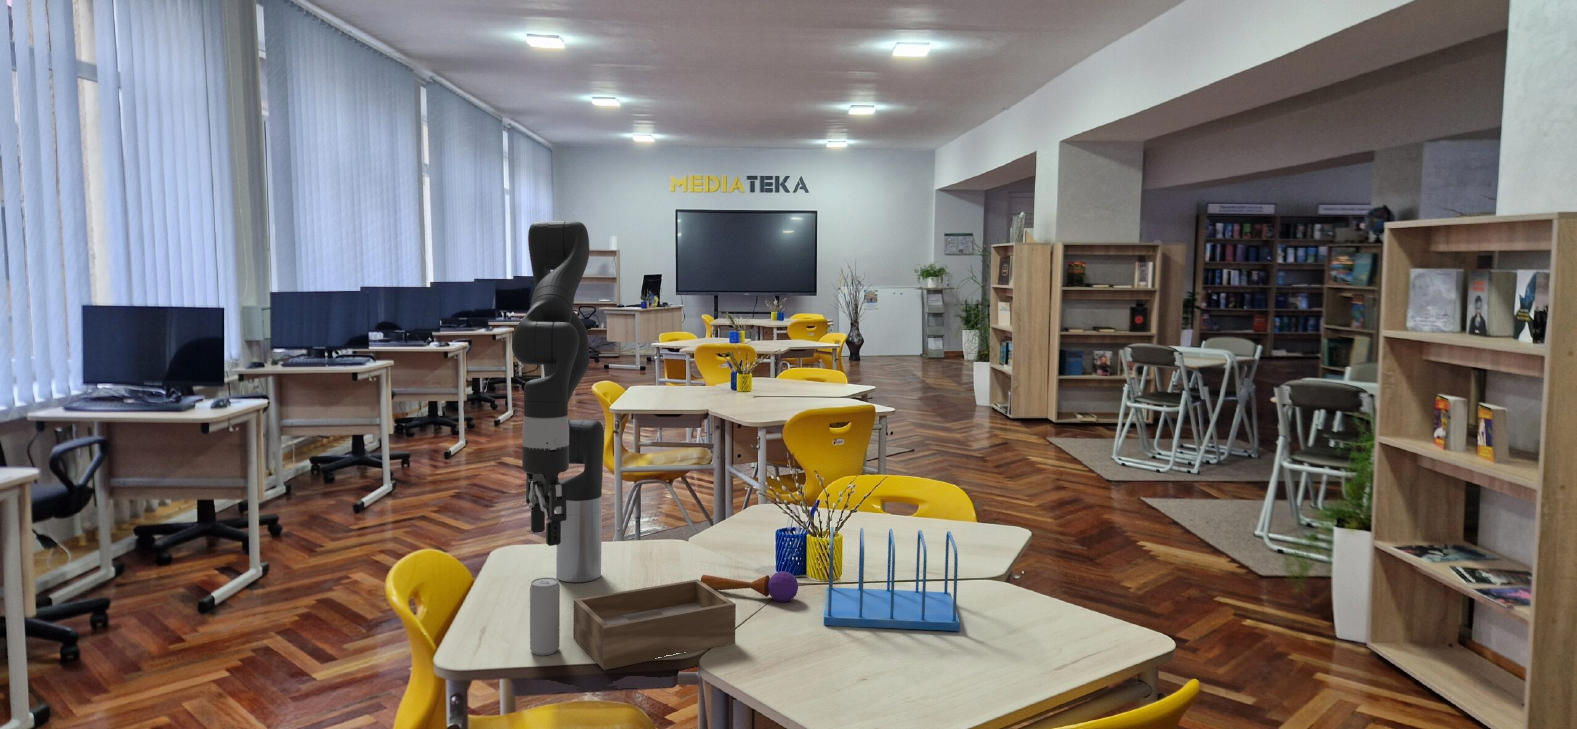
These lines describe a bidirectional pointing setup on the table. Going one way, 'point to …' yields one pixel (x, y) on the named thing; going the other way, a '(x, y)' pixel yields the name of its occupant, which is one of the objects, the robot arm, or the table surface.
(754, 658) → the table surface
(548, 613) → the beverage can
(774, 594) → the purple maraca
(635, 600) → the box
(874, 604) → the file sorter
